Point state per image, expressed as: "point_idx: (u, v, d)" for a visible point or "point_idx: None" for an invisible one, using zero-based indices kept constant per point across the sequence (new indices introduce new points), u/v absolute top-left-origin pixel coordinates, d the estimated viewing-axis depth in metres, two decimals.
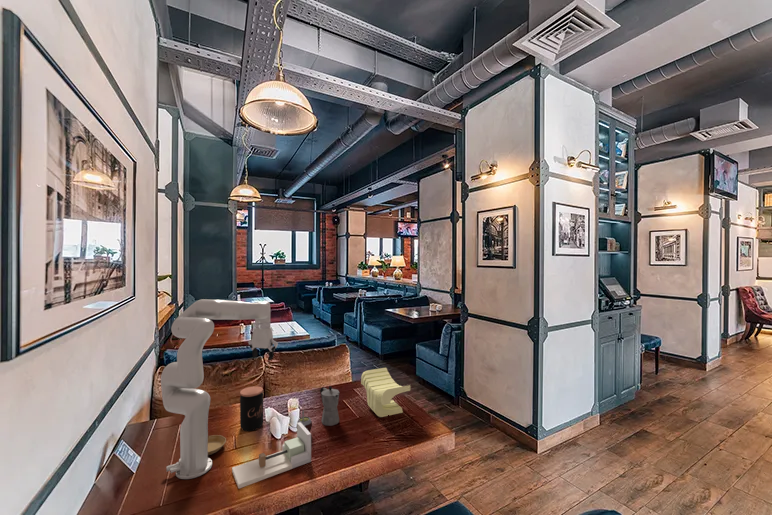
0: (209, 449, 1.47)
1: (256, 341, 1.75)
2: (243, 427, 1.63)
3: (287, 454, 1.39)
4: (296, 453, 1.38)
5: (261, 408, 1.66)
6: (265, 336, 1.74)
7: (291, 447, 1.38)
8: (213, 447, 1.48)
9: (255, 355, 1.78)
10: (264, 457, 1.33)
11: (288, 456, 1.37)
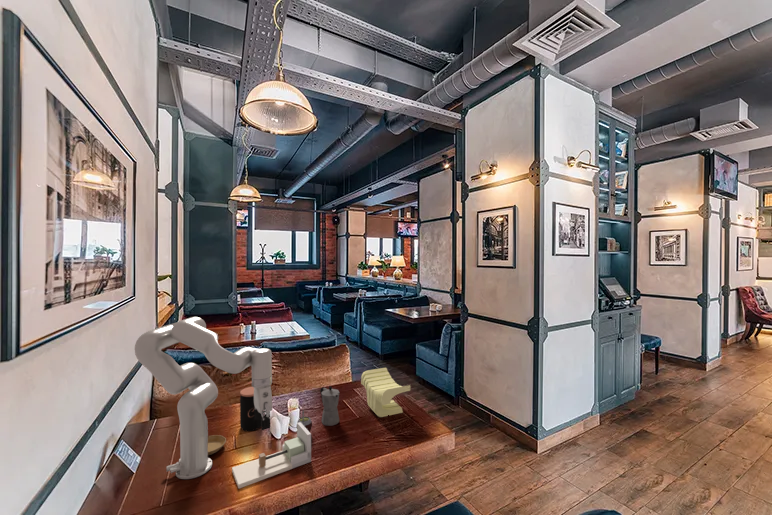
0: (209, 449, 1.47)
1: None
2: (243, 427, 1.63)
3: (287, 454, 1.39)
4: (296, 453, 1.38)
5: None
6: None
7: (291, 447, 1.38)
8: (213, 447, 1.48)
9: None
10: (264, 457, 1.33)
11: (288, 456, 1.37)
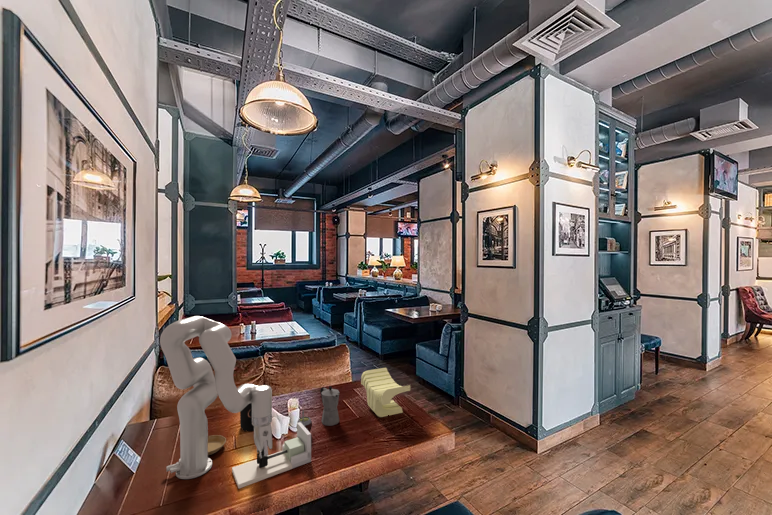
0: (209, 449, 1.47)
1: None
2: (243, 427, 1.63)
3: (287, 454, 1.39)
4: (296, 453, 1.38)
5: None
6: None
7: (291, 447, 1.38)
8: (213, 447, 1.48)
9: None
10: None
11: (288, 456, 1.37)
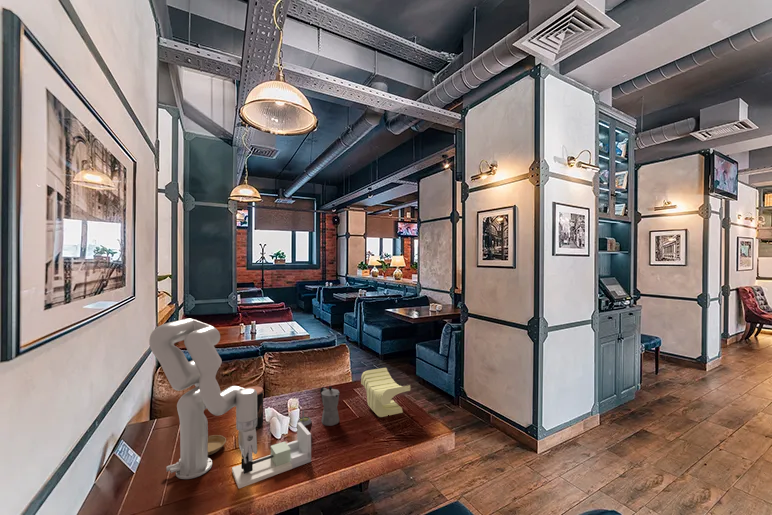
0: (209, 449, 1.47)
1: None
2: None
3: (273, 459, 1.36)
4: (282, 458, 1.35)
5: (261, 408, 1.66)
6: None
7: (277, 452, 1.34)
8: (213, 447, 1.48)
9: None
10: None
11: (274, 461, 1.34)
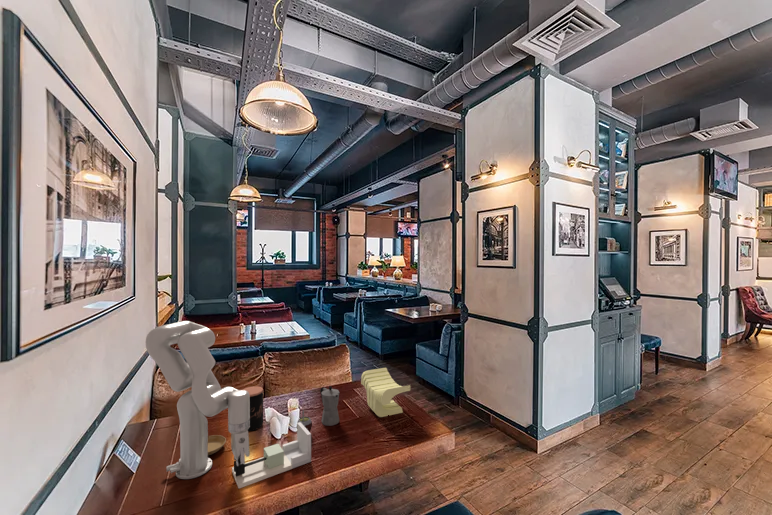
0: (209, 449, 1.47)
1: None
2: None
3: (266, 461, 1.34)
4: (275, 460, 1.33)
5: (261, 408, 1.66)
6: None
7: (270, 454, 1.33)
8: (213, 447, 1.48)
9: None
10: None
11: (267, 464, 1.32)
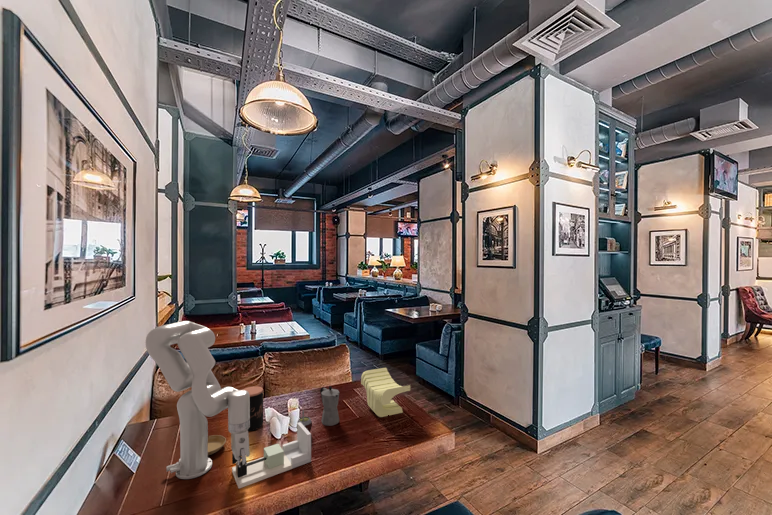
0: (209, 449, 1.47)
1: None
2: None
3: (266, 461, 1.34)
4: (275, 460, 1.33)
5: (261, 408, 1.66)
6: None
7: (270, 454, 1.33)
8: (213, 447, 1.48)
9: None
10: None
11: (267, 464, 1.32)
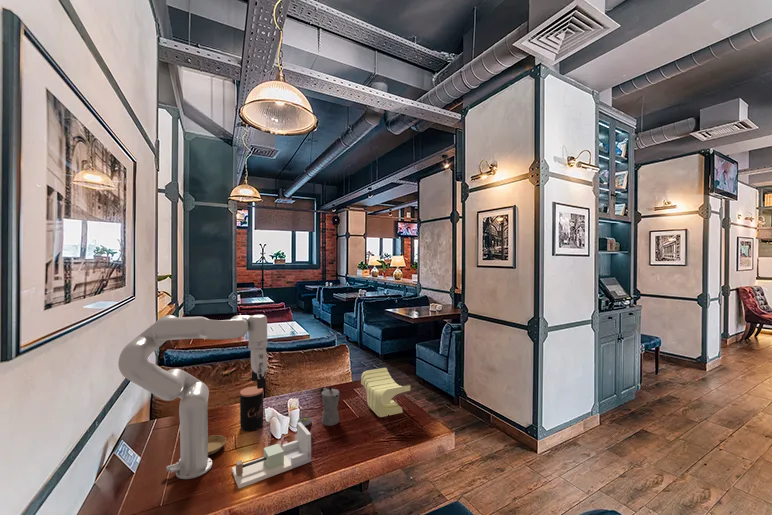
0: (209, 449, 1.47)
1: None
2: (243, 427, 1.63)
3: (266, 461, 1.34)
4: (275, 460, 1.33)
5: (261, 408, 1.66)
6: None
7: (270, 454, 1.33)
8: (213, 447, 1.48)
9: None
10: (241, 465, 1.28)
11: (267, 464, 1.32)
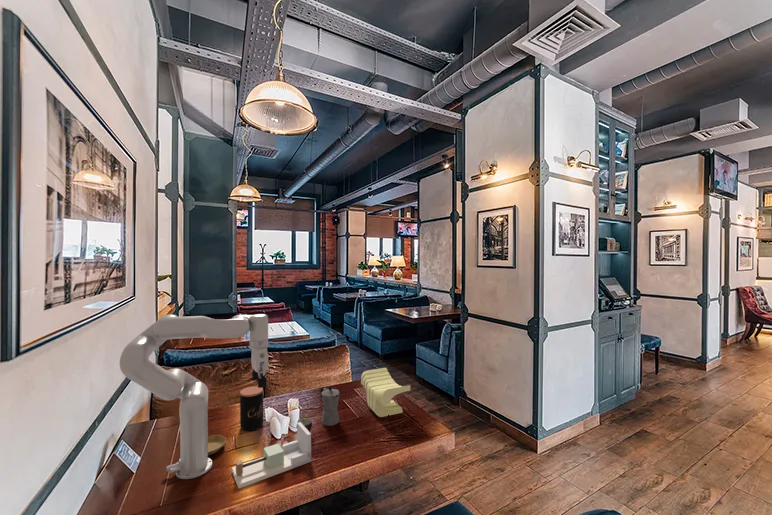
0: (209, 449, 1.47)
1: None
2: (243, 427, 1.63)
3: (266, 461, 1.34)
4: (275, 460, 1.33)
5: (261, 408, 1.66)
6: None
7: (270, 454, 1.33)
8: (213, 447, 1.48)
9: None
10: (241, 465, 1.28)
11: (267, 464, 1.32)
